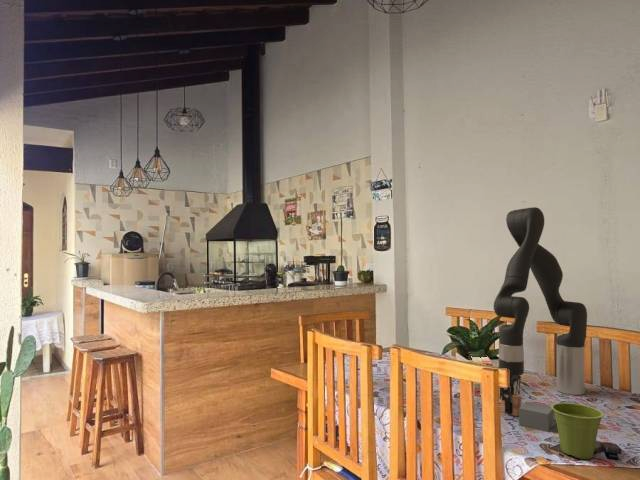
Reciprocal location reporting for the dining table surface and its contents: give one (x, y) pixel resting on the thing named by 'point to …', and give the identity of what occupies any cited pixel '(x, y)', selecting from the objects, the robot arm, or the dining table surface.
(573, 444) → the plant pot
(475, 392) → the stack of blocks
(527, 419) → the grey base block
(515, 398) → the terracotta cube
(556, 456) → the dining table surface
